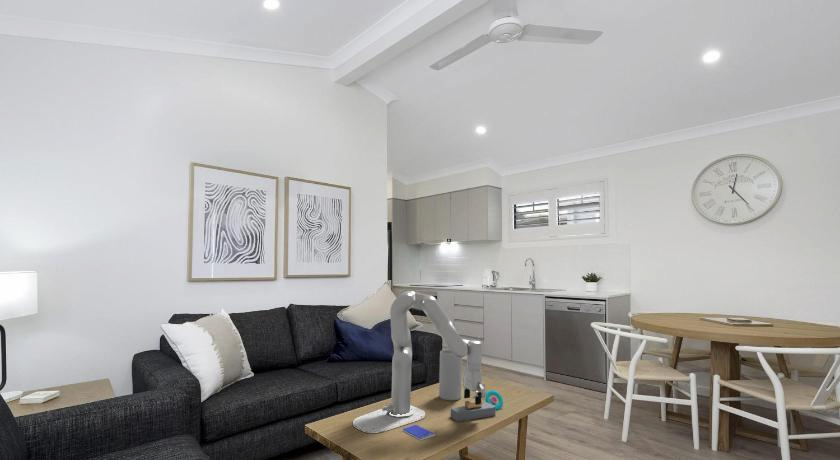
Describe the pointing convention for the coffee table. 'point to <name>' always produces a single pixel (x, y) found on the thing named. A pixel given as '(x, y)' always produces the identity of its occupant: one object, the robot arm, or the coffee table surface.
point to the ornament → (494, 399)
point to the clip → (472, 405)
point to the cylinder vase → (450, 376)
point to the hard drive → (418, 432)
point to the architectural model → (484, 389)
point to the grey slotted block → (473, 412)
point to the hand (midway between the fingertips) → (472, 401)
